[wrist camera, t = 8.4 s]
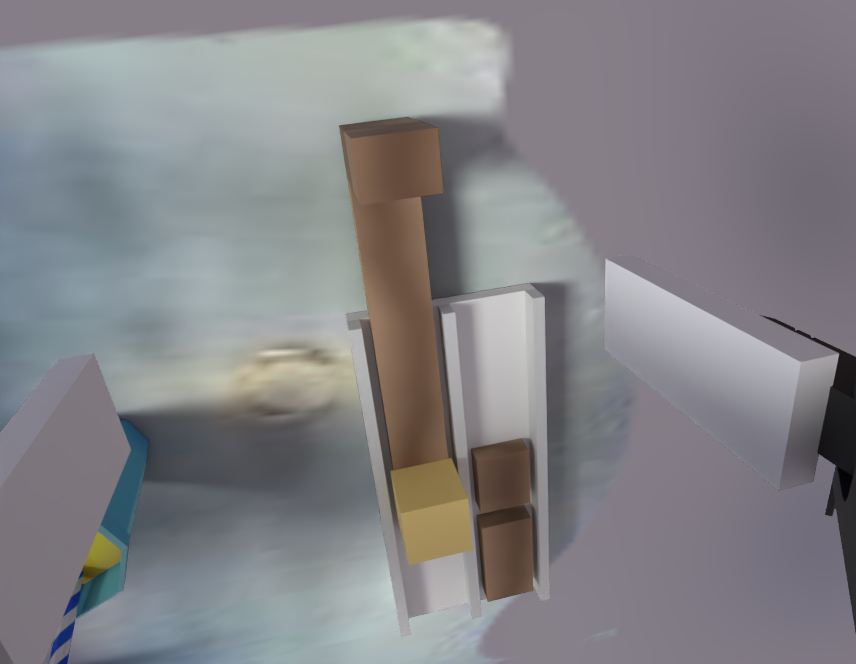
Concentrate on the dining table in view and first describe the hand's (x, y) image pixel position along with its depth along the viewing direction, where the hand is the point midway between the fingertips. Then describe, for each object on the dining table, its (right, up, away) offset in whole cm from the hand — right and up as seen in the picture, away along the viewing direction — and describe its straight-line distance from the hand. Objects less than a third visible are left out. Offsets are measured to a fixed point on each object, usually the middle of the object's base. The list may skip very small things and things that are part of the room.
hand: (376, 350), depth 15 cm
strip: (0, -1, +25) cm, 25 cm away
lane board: (+4, -10, +31) cm, 33 cm away
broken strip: (+7, -15, +32) cm, 36 cm away
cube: (+1, -11, +28) cm, 30 cm away
